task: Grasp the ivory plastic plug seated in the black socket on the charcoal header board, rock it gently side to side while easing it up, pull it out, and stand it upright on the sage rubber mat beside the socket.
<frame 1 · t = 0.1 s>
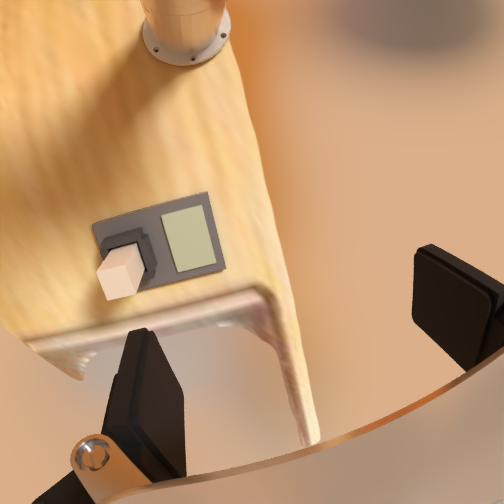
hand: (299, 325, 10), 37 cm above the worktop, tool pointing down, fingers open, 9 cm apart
plug: (130, 254, 44), point 1 cm above the worktop, touching header
header: (159, 244, 45), on the worktop
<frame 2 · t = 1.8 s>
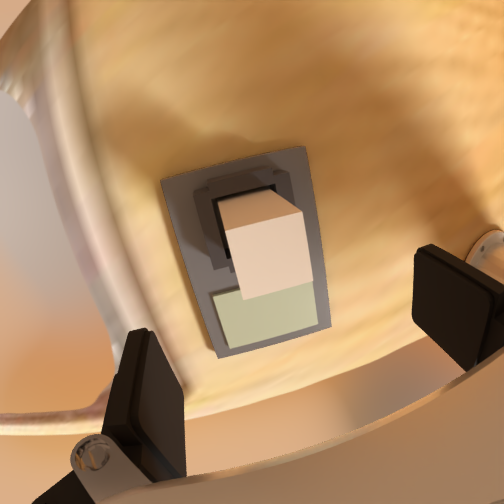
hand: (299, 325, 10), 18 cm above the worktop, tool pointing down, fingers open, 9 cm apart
plug: (246, 214, 25), point 1 cm above the worktop, touching header
header: (255, 259, 28), on the worktop
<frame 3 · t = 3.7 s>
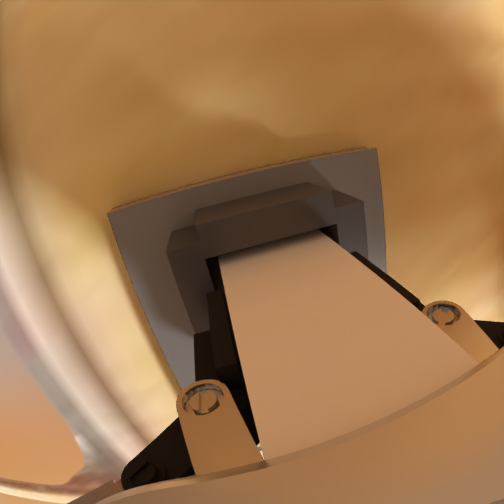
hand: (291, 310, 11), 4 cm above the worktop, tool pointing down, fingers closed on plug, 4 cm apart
plug: (270, 273, 14), point 1 cm above the worktop, touching gripper, header
header: (281, 338, 16), on the worktop
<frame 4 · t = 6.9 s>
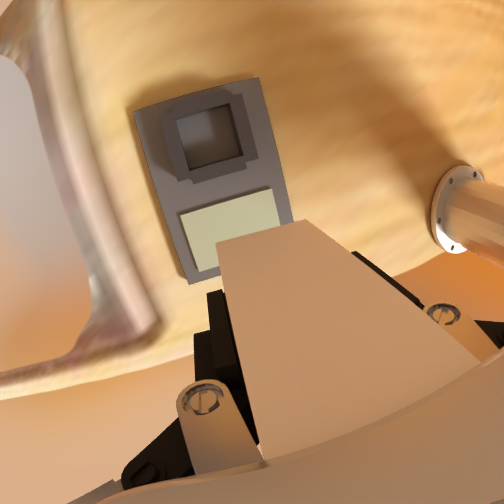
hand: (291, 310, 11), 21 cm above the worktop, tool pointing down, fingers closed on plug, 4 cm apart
plug: (270, 272, 14), point 18 cm above the worktop, touching gripper
header: (219, 181, 29), on the worktop
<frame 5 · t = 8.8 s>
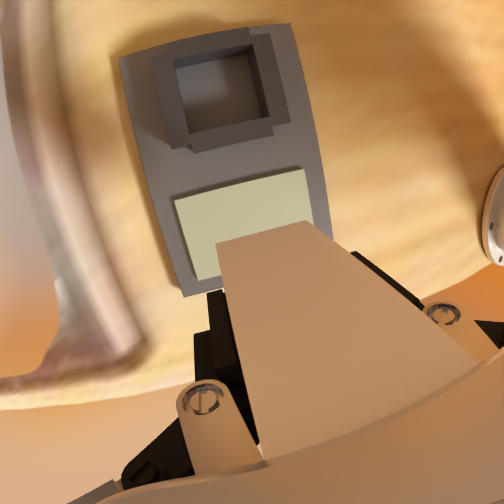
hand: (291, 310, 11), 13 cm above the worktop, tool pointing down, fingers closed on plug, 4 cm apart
plug: (270, 273, 14), point 9 cm above the worktop, touching gripper
header: (232, 156, 21), on the worktop
when the fingers open (6 cm above the worktop, at t = 10.4 s): plug stays where it is, resting on header.
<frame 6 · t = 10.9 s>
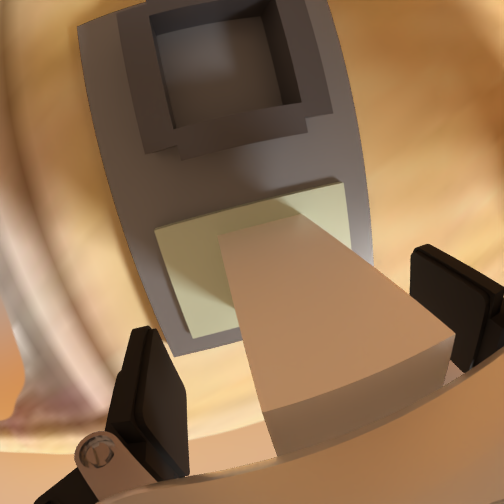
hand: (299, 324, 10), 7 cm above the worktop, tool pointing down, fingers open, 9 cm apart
plug: (268, 263, 15), point 1 cm above the worktop, touching header
header: (238, 162, 14), on the worktop
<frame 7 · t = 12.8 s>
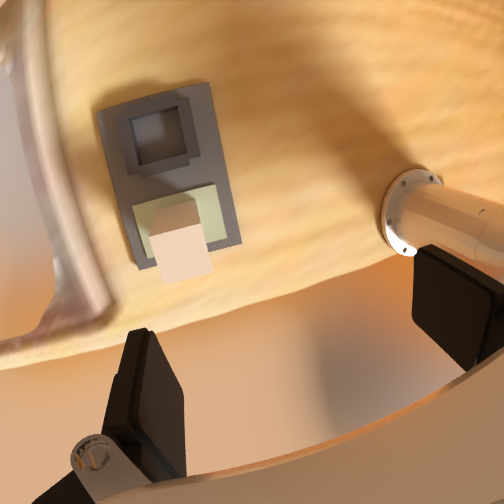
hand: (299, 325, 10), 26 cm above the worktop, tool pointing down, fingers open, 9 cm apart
plug: (181, 221, 32), point 1 cm above the worktop, touching header
header: (169, 176, 31), on the worktop
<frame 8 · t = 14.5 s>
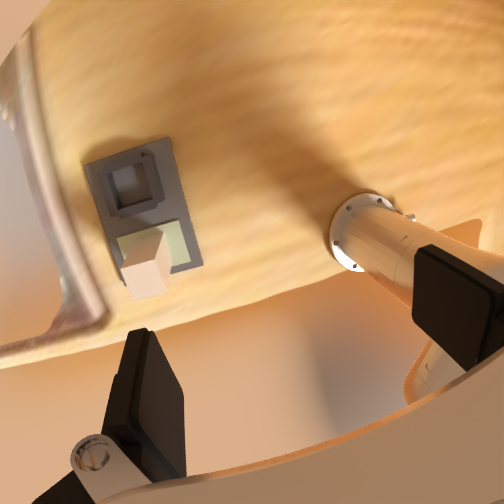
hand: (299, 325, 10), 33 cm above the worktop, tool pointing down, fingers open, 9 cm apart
plug: (154, 249, 41), point 1 cm above the worktop, touching header
header: (144, 214, 40), on the worktop
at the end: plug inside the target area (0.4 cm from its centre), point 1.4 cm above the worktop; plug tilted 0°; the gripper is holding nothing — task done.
